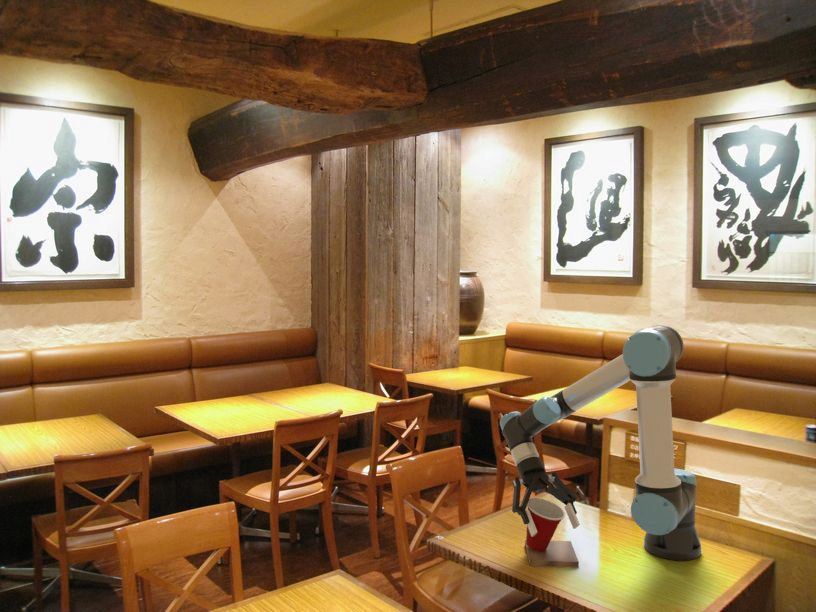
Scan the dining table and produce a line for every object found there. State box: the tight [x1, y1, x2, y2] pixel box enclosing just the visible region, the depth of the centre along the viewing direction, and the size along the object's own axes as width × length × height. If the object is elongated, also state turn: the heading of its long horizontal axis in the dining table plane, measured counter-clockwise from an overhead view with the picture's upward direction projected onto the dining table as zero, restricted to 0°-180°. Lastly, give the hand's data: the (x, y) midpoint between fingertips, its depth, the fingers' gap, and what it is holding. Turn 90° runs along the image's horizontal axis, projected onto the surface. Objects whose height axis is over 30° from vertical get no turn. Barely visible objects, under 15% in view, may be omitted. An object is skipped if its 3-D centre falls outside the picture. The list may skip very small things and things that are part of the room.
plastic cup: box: [525, 497, 566, 551], centre depth 189 cm, size 11×11×12 cm
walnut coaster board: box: [524, 539, 580, 568], centre depth 189 cm, size 13×13×2 cm
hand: (555, 530), depth 186 cm, fingers open, 13 cm apart
